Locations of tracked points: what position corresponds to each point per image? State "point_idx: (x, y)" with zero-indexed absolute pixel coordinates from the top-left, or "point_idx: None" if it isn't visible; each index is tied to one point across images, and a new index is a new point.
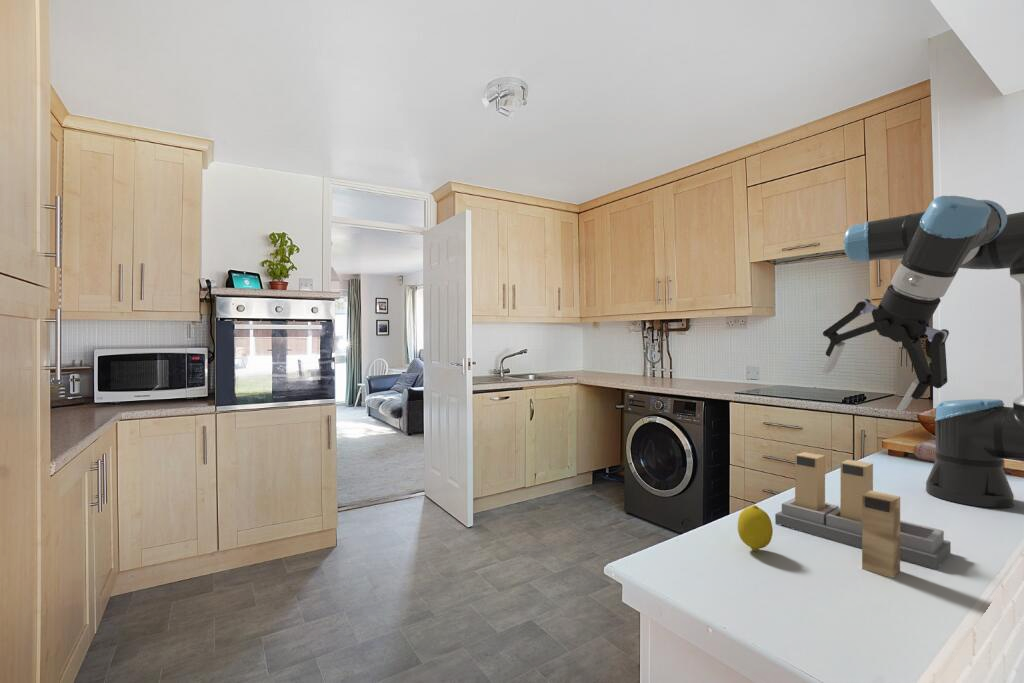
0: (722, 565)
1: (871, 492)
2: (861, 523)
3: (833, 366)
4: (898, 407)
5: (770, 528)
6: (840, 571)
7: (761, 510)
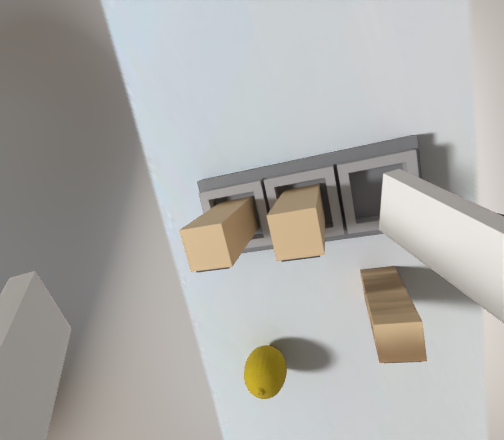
0: (280, 406)
1: (380, 336)
2: (326, 235)
3: (36, 308)
4: (391, 235)
5: (284, 374)
6: (354, 325)
7: (268, 388)
